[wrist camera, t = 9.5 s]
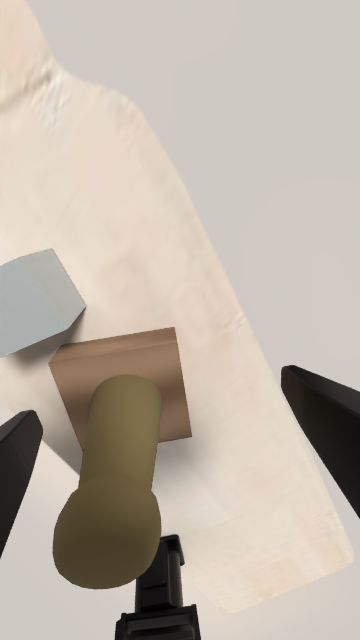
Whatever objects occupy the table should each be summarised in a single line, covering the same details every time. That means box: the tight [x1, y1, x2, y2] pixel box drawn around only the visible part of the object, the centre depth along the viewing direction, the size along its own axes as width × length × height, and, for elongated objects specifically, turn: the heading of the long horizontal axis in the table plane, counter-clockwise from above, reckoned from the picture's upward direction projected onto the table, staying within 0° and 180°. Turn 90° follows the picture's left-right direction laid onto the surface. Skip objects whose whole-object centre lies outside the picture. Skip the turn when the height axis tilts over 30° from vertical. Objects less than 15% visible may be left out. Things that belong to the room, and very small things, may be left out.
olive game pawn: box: [53, 374, 163, 589], centre depth 16 cm, size 6×6×11 cm
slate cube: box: [0, 248, 86, 358], centre depth 18 cm, size 5×5×5 cm
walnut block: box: [48, 327, 192, 452], centre depth 23 cm, size 10×10×3 cm
